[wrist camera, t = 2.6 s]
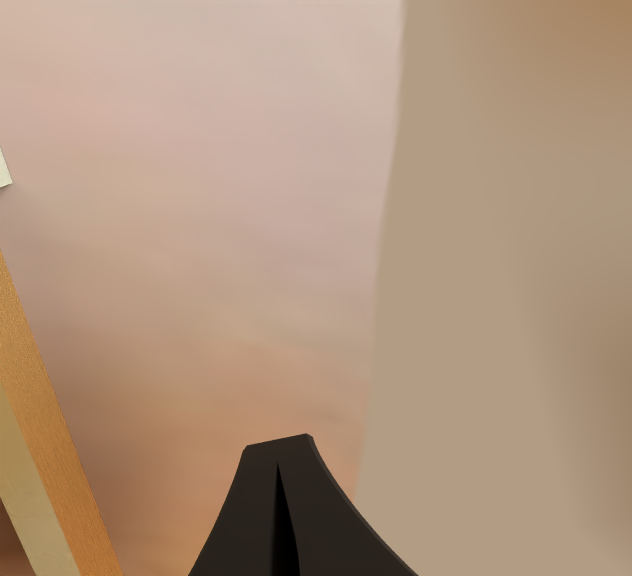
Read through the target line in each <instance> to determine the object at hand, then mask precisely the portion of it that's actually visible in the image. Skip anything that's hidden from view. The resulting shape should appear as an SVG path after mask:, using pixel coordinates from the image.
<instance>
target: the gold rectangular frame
mask: <svg viewBox="0 0 632 576" xmlns="http://www.w3.org/2000/svg"><path fill="white" fill-rule="evenodd" d="M0 498H1V500H2V502H3V504H4V506H5V509H6V511H7V513H8V515H9V517H10V520H11V522H12V524H13V526H14V528H15V531H16V533H17V535H18V537H19V539H20V542H21V544H22V546H23V548H24V550H25V553H26V555H27V557H28V559H29V561H30V563H31V566H32V568H33V570H34V572H35V574H36V576H123V574H122V571H121V569H120V566H119V563H118V561H117V558H116V555H115V553H114V550H113V547H112V545H111V542H110V539H109V537H108V534H107V531H106V529H105V526H104V523H103V521H102V518H101V515H100V513H99V510H98V507H97V505H96V502H95V500H94V497H93V494H92V492H91V489H90V486H89V484H88V481H87V478H86V476H85V473H84V470H83V468H82V465H81V462H80V460H79V457H78V454H77V452H76V449H75V446H74V444H73V441H72V438H71V436H70V433H69V430H68V428H67V425H66V423H65V420H64V417H63V415H62V412H61V409H60V407H59V404H58V401H57V399H56V396H55V393H54V391H53V388H52V385H51V383H50V380H49V377H48V375H47V372H46V369H45V367H44V364H43V361H42V359H41V356H40V353H39V351H38V348H37V346H36V343H35V340H34V338H33V335H32V332H31V330H30V327H29V324H28V322H27V319H26V316H25V314H24V311H23V308H22V306H21V303H20V300H19V298H18V295H17V292H16V290H15V287H14V284H13V282H12V279H11V276H10V274H9V271H8V269H7V266H6V263H5V261H4V258H3V255H2V253H1V250H0Z"/></svg>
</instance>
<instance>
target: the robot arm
mask: <svg viewBox="0 0 632 576" xmlns="http://www.w3.org/2000/svg"><path fill="white" fill-rule="evenodd" d="M188 576H418V575H417V574H416V573H415V572H414V571H413V570H411V568H410V567H409V566H408V565H407V564H405V562H404V561H402V559H401V558H400V557H399V556H398V555H397V554H396V553H395V552H394V551H393V550H392V549H391V548H390V547H389V546H388V545H387V544H386V543H385V542H384V541H383V540H382V539H381V538H380V536H379V535H378V534H377V533H376V532H375V531H374V530H373V528H372V527H371V526H370V525H369V524H368V522H367V521H366V520H365V519H364V518H363V517H362V515H361V514H360V513H359V512H358V510H357V509H356V508H355V507H354V505H353V504H352V503H351V501H350V500H349V499H348V497H347V496H346V494H345V493H344V492H343V490H342V489H341V488H340V486H339V485H338V483H337V482H336V480H335V479H334V477H333V476H332V474H331V473H330V471H329V470H328V468H327V466H326V465H325V463H324V461H323V459H322V458H321V456H320V454H319V452H318V450H317V447H316V445H315V443H314V440H313V437H312V436H310V435H309V434H307V433H306V434H301V435H296V436H291V437H286V438H281V439H277V440H272V441H267V442H262V443H257V444H252V445H247V446H246V448H245V449H244V450H243V452H242V456H241V459H240V462H239V465H238V468H237V471H236V474H235V477H234V480H233V482H232V485H231V487H230V490H229V492H228V495H227V497H226V500H225V502H224V504H223V506H222V509H221V511H220V513H219V516H218V518H217V520H216V522H215V525H214V527H213V529H212V531H211V533H210V535H209V537H208V539H207V541H206V543H205V545H204V547H203V549H202V551H201V552H200V554H199V556H198V558H197V560H196V562H195V564H194V566H193V568H192V570H191V571H190V573H189V575H188Z"/></svg>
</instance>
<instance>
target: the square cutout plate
mask: <svg viewBox="0 0 632 576" xmlns="http://www.w3.org/2000/svg"><path fill="white" fill-rule="evenodd" d="M11 183H12V180H11V177H10V175H9V172H8V169H7V166H6V163H5V160H4V157H3V155H2V152H1V149H0V187H3V186H6V185H8V184H11Z"/></svg>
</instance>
